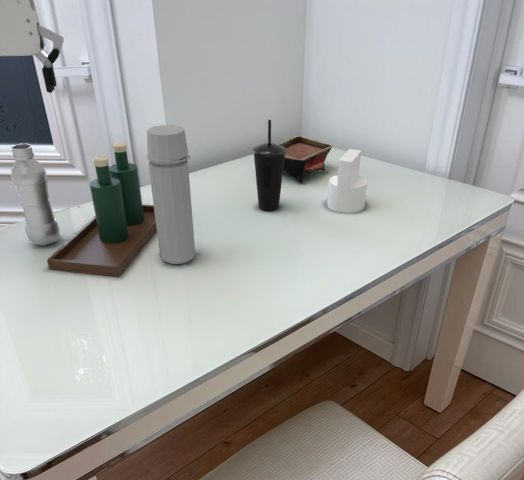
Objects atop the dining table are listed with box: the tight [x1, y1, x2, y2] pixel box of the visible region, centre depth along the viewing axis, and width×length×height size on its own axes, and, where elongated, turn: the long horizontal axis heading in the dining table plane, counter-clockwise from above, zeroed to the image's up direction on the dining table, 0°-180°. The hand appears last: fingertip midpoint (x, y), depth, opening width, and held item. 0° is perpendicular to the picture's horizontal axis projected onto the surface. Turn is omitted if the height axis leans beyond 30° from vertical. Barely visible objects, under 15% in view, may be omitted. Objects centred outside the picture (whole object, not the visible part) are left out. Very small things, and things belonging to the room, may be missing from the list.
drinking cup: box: [251, 119, 286, 212], centre depth 126 cm, size 8×8×20 cm
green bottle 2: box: [109, 142, 144, 226], centre depth 120 cm, size 6×6×17 cm
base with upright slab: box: [326, 148, 368, 214], centre depth 129 cm, size 9×9×12 cm
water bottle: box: [146, 124, 196, 265], centre depth 105 cm, size 9×8×25 cm
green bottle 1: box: [89, 155, 129, 243], centre depth 113 cm, size 6×6×17 cm
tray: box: [46, 203, 157, 278], centre depth 117 cm, size 15×30×2 cm, turn 168°
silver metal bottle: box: [10, 143, 61, 246], centre depth 111 cm, size 6×7×20 cm
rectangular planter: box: [278, 135, 333, 184], centre depth 149 cm, size 14×18×10 cm
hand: (23, 91), depth 97 cm, fingers open, 9 cm apart
